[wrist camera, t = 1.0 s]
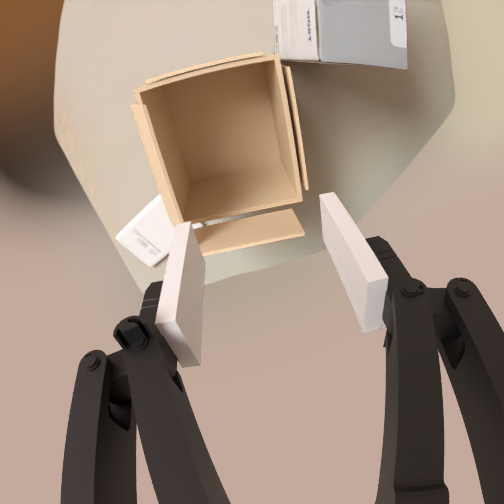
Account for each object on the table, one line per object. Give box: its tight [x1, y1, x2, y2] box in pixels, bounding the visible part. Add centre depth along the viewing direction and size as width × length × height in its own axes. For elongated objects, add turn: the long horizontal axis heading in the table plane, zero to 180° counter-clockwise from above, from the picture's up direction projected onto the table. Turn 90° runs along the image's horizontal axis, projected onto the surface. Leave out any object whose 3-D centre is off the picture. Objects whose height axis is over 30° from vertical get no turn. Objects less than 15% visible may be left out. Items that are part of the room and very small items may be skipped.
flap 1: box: [131, 104, 184, 228], centre depth 27 cm, size 13×7×1 cm
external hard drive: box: [116, 194, 204, 268], centre depth 48 cm, size 2×8×12 cm
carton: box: [134, 51, 309, 224], centre depth 34 cm, size 16×15×12 cm
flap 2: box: [193, 208, 305, 256], centre depth 31 cm, size 7×11×1 cm
